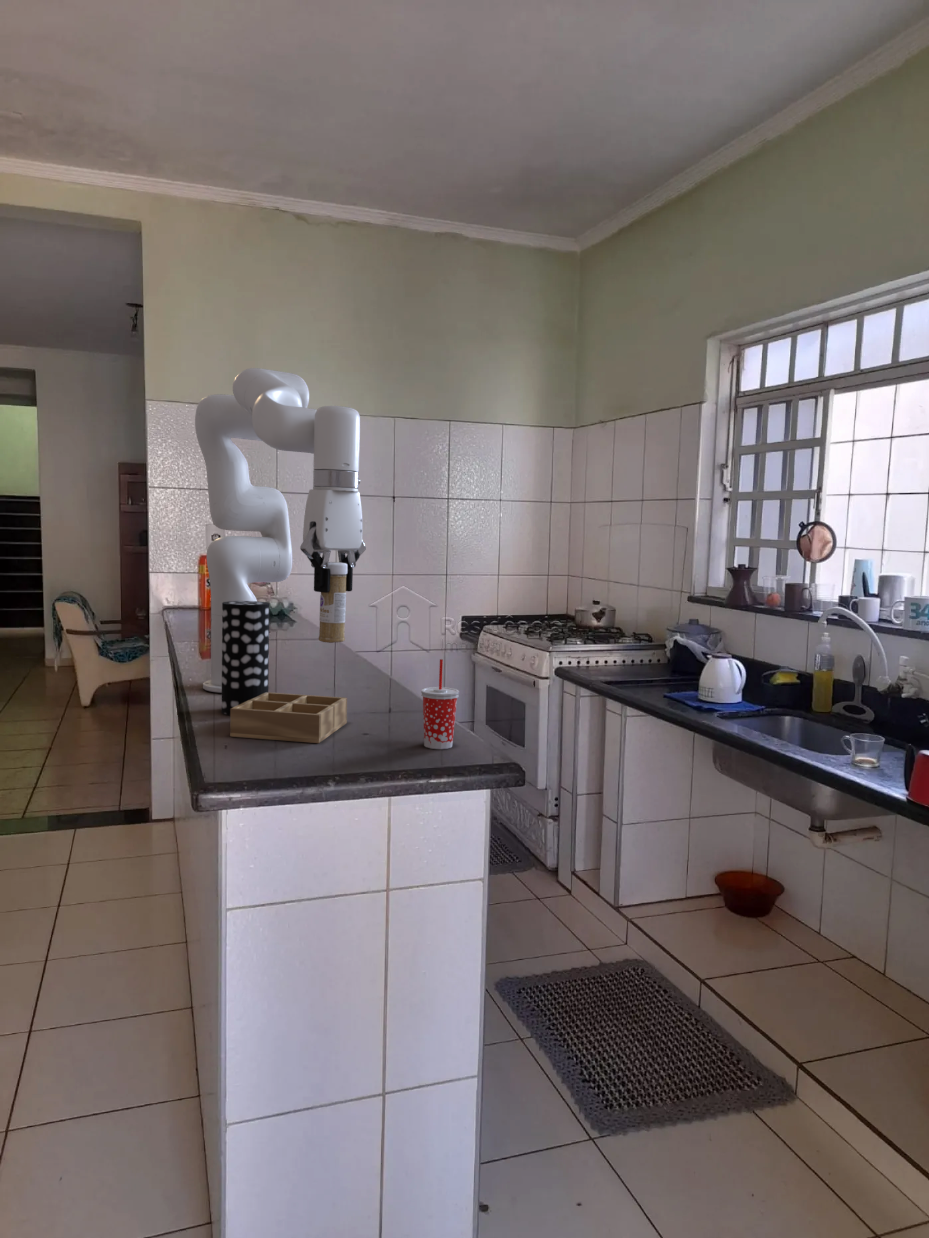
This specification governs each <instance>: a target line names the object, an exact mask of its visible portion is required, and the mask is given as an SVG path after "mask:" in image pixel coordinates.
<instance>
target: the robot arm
mask: <svg viewBox="0 0 929 1238" xmlns="http://www.w3.org/2000/svg"><path fill="white" fill-rule="evenodd" d="M309 403H310V389H309V387H308V384H307V383H306V381H305V379H303V377H301V376H300V375H299V374H296V373H293V372H287V371H280V370H273V369H268V368H260V367H250V368H246V369H244V370H242V371H241V372H239V373H238V374H237V375H236V376H235V377H234V379H233V381H232V394H226V393H225V394H223V393H220V394H219V393H217V394H210V395H206V396H204V397H203V398H201V399H200V400H199V402H198V404H197V406H196V408H195V415H194V428H195V429H194V430H195V435H196V439H197V442H198V445H199V449H200V452H201V453H202V456H203V460H204V464H205V469H206V470H205V471H206V481H207V482H206V483H207V492H208V503H209V504H208V505H209V512H210V519H211V521H212V524H213V525H214V526H215V527H216V528H218V529H221V530H224V531H234V532H259V533H260V535H261V536H252V535H251V536H248V535H227V536H221V537H218V538H215V539H214V540H213V541H211V542H210V544H209V545H208V547H207V549H206V565H207V572H208V578H209V586H210V587H209V588H210V679H207V680H205V681H204V682H202V688H203V690H205V691H207V692H211V693H218V694H222V602H228V601H258V599H257V597H256V596H255V594H254V593H253V591H252V590H251V588H250V587H249V585H248V584H252V583H280V582H283V581H285V580H286V579H288V578H289V576H291V573H292V570H293V547H292V537H291V526H290V514H289V507H288V503H287V500H286V498H285V496H284V495H283V493H282V492H281V491H280V490H279V489H277V488H275V487H271V486H262V485H253V484H252V483H251V479H250V469H249V463H248V460H247V458H246V456H245V455H244V454H243V452H242V451H241V449H240V448H239V447H238V446H237V445H236V444H235V442H233V441H232V439H241V440H249V441H258V442H263V443H264V444H266V445H267V446H269V447H270V448H273V449H275V450H278V451H282V452H283V451H284V452H293V453H294V452H295V453H305V454H313V463H312V465H313V467H312V469H313V471H312V489H309V490H308V494H307V498H306V503H305V508H304V517H303V529H302V530H303V531H302V543H301V545H300V546H299V549H300V551H301V552H302V553H303V554H304V555H305V556H306V558H307V559H308V561H309V562H310V565H311V568H313V591H314V592H316V593H321V592H324V593H328V592H329V591H330V569H328V568H327V567H328V562H330V557H331V552H332V551H337V556H338V562H341V563H346V564H347V574H346V592H353V575H354V569H355V568H356V565H357V562H358V560H359V559H360V557H361V556H362V555H363V553H364V552H365V551H366V550H367V547H366V544H365V543H364V540H363V508H362V500H361V494H360V491H359V485H360V484H361V479H360V476H359V475H360V473H359V472H360V443H361V442H360V441H361V439H360V438H361V416H360V412H359V411H358V410H356V409H355V408H353V407H350V406H343V405H324V406H320V407H319V408H317V409H316V408H311V407H308V406H309ZM321 554H322V555H321Z"/></svg>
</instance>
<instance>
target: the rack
mask: <svg viewBox="0 0 929 1238" xmlns="http://www.w3.org/2000/svg"><path fill="white" fill-rule="evenodd" d="M229 717H230V718H229V719H230V721H229V726H230V727H229V728H230V729H229V730H230V731H229V732H230V734H229V736H230V737H231V738H243V739H244V738H247V739H260V740H268V741H269V740H271V741H281V742H282V741H284V742H297V743H307V744H308V743H311V744H320V743H321V742H323V741H324V740H326V739H327V738H328V737H330V736H331V735H333V734H334V733H335V732H336V731H338V730H339V729H341V728H342V727H343V726H345V725H347V723H348V722H347V721H348V697H343V696H342V697H341V696H331V695H330V696H329V695H328V696H327V695H313V694H301V693H300V694H299V693H286V692H271V691H270V692H269V691H268V692H266V693H264V694H261V695H259V696H257V697H255V698H253V699H251V700H248V701H246V702H244V703H242V704H240V705H237V706H235V707H233V708H231V710H230V715H229Z"/></svg>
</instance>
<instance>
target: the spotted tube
mask: <svg viewBox="0 0 929 1238" xmlns="http://www.w3.org/2000/svg"><path fill="white" fill-rule="evenodd" d="M269 665H270V602H267V601H258V600H257V601H228V602H222V693H221V714H224V715H227V716H230V710H231V708H233V707H235V706H237V705H240V704H242V703H244V702H246V701H248V700H251V699H253V698H255V697H257V696H259V695H261V694H264V693H266V692H269V676H270V675H269V673H270V672H269V671H270V669H269V667H270V666H269Z"/></svg>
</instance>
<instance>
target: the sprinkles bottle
mask: <svg viewBox="0 0 929 1238" xmlns="http://www.w3.org/2000/svg"><path fill="white" fill-rule="evenodd" d="M327 568H328V569H330V591H329V592H328V593H324V592H320V596H319V631H318V632H319V633H318V641H319V642H322V643H326V644H333V643H334V644H335V643H343V642H345V641H346V637H345V628H346V613H347V611H346V610H347V591H346V574H347V564H346V563H341V562H339V561H329V562H328V567H327Z"/></svg>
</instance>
